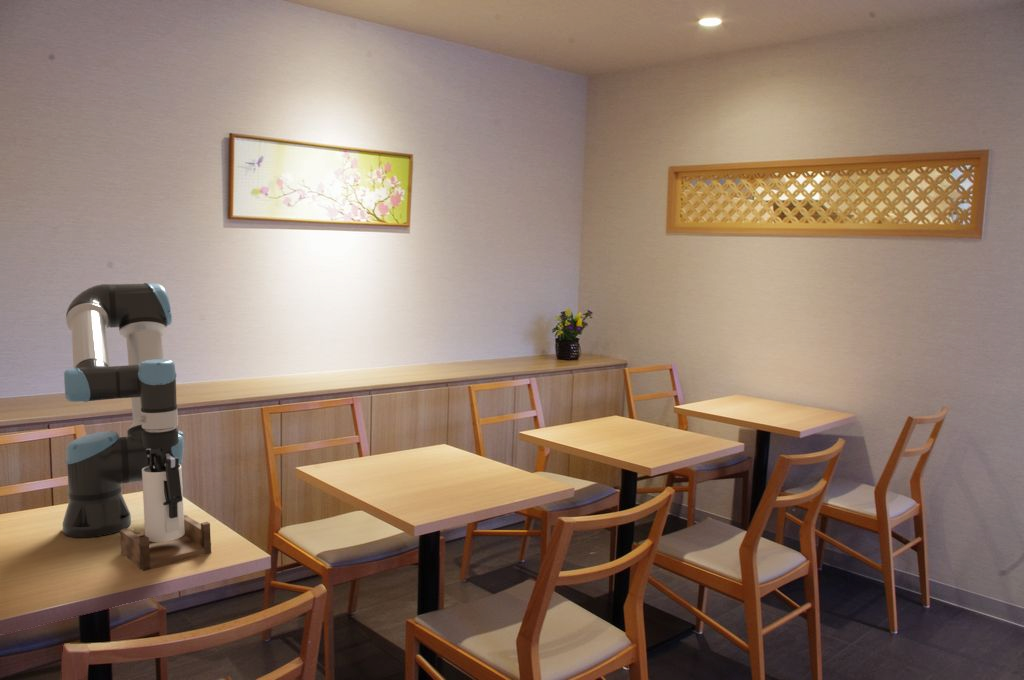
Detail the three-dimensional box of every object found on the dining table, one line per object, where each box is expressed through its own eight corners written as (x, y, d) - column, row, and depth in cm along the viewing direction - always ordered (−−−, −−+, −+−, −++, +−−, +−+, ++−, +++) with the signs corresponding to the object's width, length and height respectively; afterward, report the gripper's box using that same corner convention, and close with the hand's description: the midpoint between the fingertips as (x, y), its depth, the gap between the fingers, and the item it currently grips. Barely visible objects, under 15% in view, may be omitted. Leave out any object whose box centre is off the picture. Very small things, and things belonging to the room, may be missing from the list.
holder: (121, 553, 182) (119, 523, 181) (186, 536, 192) (185, 508, 192) (143, 570, 172) (141, 539, 171) (211, 552, 182) (209, 523, 182)
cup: (160, 544, 176) (156, 474, 174) (137, 537, 180) (134, 469, 179) (192, 533, 183) (189, 466, 181) (170, 527, 187) (166, 460, 186)
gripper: (126, 423, 184) (131, 518, 186) (160, 439, 169) (165, 542, 171) (159, 419, 189) (164, 511, 192) (195, 433, 174) (200, 533, 177)
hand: (164, 525), depth 182 cm, fingers closed on cup, 8 cm apart
